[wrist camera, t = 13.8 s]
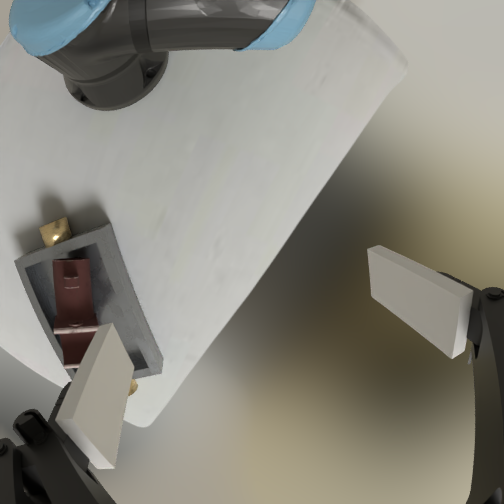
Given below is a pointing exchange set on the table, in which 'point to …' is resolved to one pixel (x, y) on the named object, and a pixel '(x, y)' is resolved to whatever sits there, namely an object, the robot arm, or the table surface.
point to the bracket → (74, 308)
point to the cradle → (103, 292)
